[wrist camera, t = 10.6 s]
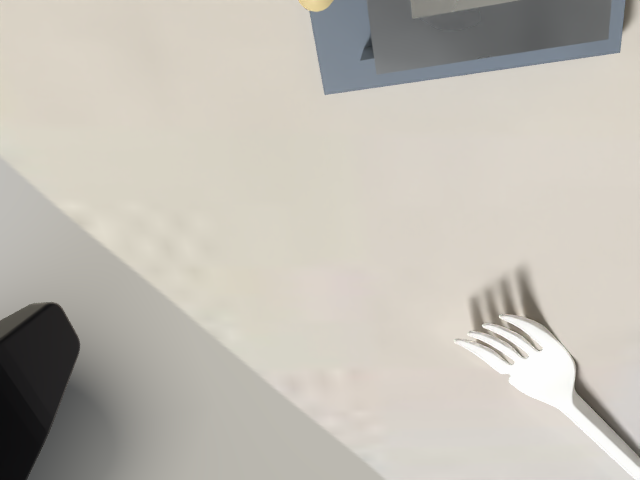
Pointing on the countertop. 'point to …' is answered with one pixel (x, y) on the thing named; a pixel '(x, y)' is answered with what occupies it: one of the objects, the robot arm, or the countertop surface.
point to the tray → (360, 73)
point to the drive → (478, 29)
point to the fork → (549, 380)
